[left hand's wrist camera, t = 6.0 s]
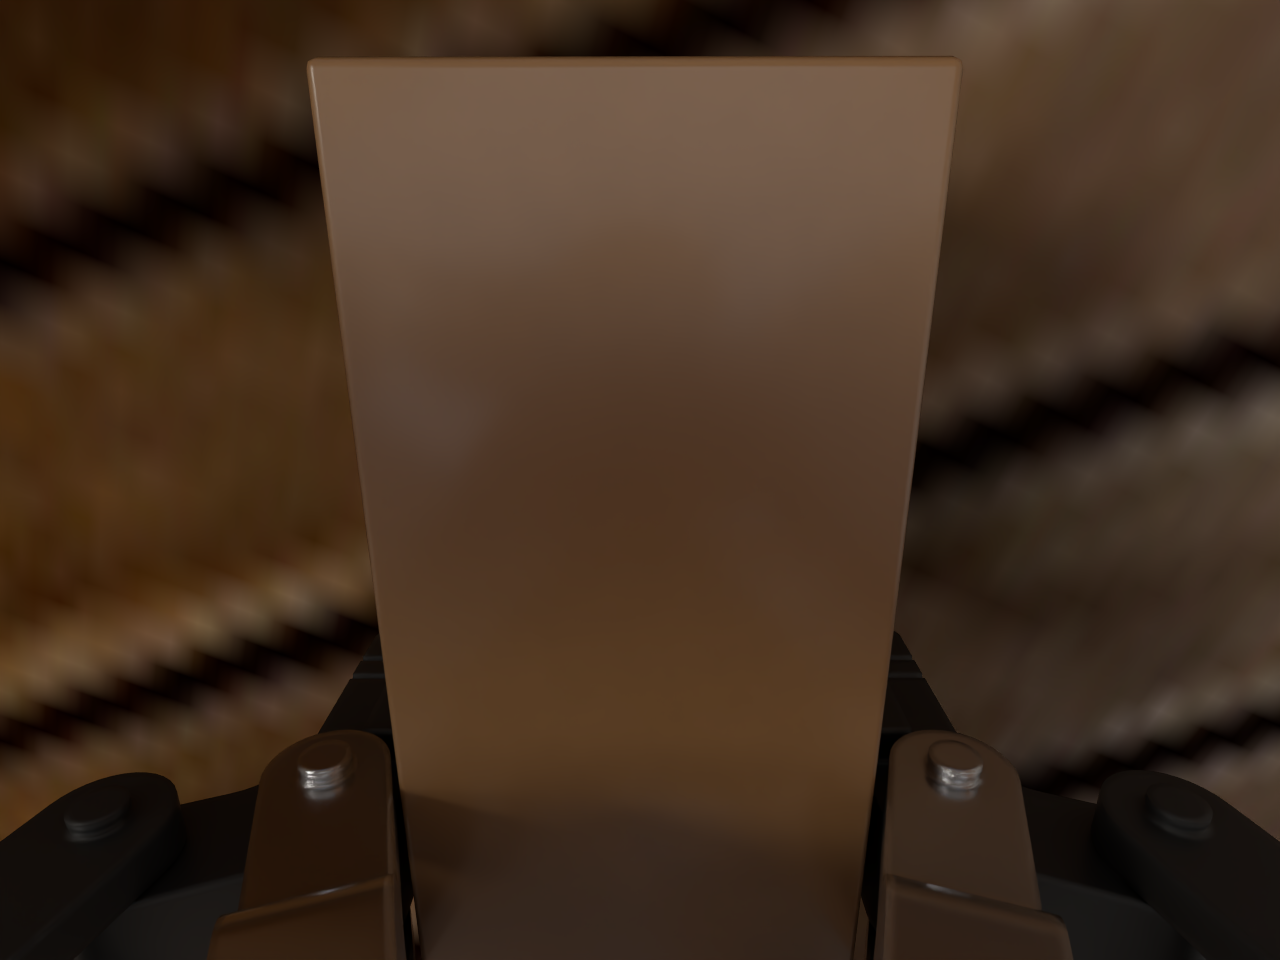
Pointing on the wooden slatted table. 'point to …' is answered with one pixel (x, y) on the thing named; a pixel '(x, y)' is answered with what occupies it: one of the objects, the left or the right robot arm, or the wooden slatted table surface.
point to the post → (636, 476)
